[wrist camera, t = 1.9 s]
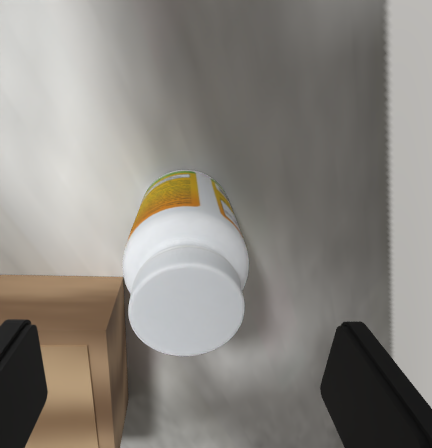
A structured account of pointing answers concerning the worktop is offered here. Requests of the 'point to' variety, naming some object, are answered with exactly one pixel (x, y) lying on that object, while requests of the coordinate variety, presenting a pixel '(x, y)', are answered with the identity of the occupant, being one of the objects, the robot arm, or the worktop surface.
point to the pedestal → (75, 355)
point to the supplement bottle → (185, 266)
